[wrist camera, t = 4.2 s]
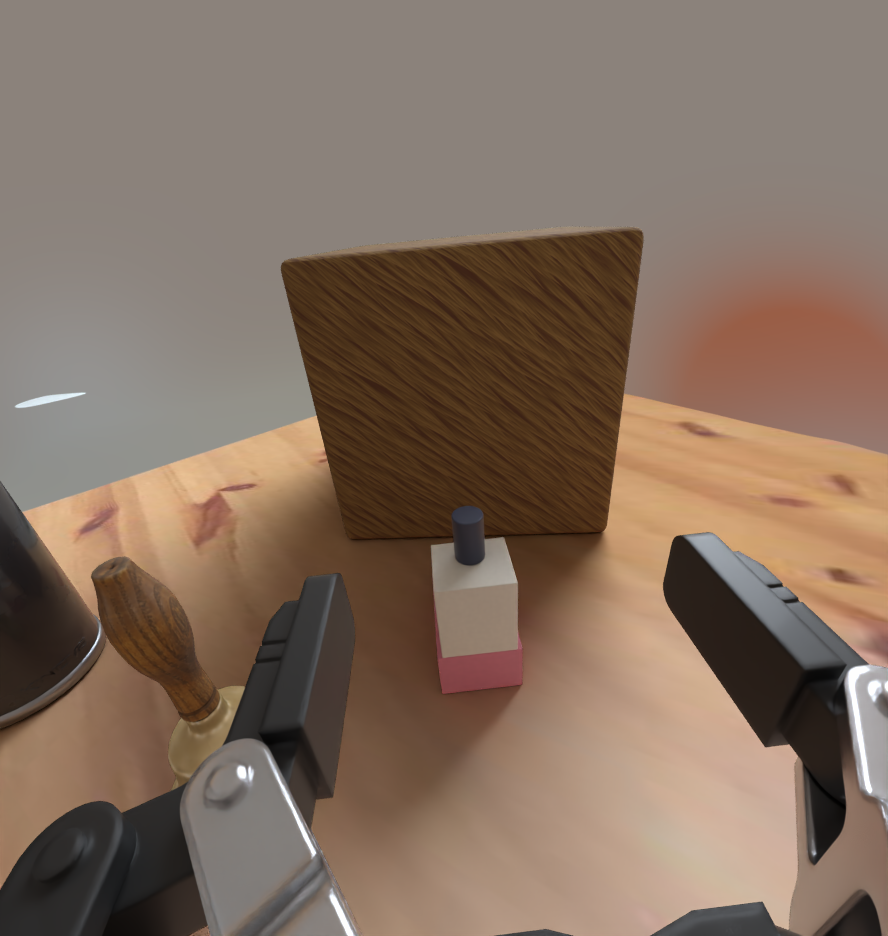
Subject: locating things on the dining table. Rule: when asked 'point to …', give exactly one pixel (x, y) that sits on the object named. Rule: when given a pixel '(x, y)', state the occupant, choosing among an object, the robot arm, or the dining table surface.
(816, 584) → the dining table surface
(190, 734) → the hand bell
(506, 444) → the wood block
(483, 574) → the block stack
